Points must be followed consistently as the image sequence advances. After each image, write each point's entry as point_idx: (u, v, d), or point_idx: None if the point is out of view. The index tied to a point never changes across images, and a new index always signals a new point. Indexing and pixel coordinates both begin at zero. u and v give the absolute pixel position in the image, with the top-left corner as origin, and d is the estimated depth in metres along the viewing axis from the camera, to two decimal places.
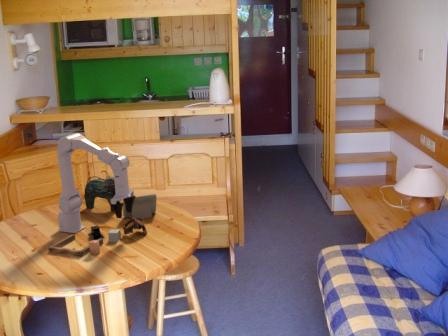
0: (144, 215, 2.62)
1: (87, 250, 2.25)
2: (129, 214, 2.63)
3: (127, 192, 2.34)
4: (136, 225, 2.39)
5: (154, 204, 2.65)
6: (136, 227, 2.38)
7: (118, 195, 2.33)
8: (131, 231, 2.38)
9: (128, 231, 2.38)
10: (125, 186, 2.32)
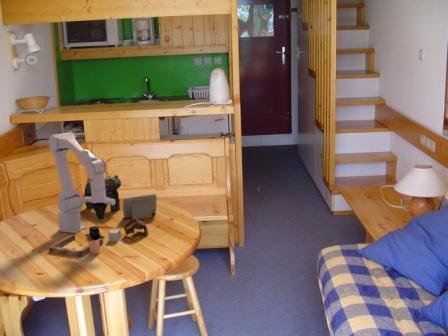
0: (144, 215, 2.62)
1: (87, 250, 2.25)
2: (129, 214, 2.64)
3: (94, 197, 2.29)
4: (137, 225, 2.38)
5: (154, 204, 2.66)
6: (137, 227, 2.38)
7: None
8: (132, 231, 2.37)
9: (129, 231, 2.38)
10: (92, 190, 2.28)
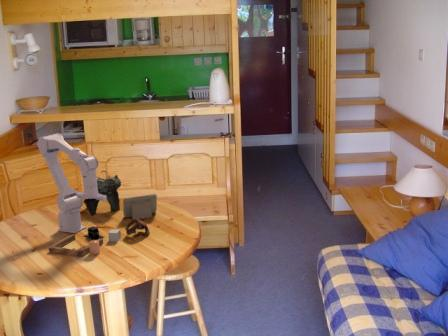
0: (144, 215, 2.62)
1: (87, 250, 2.25)
2: (129, 214, 2.64)
3: (86, 193, 2.35)
4: (139, 225, 2.38)
5: (154, 204, 2.66)
6: (139, 227, 2.38)
7: None
8: (134, 231, 2.37)
9: (131, 231, 2.38)
10: (84, 186, 2.35)
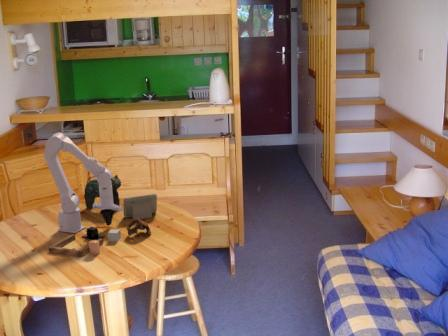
0: (145, 215, 2.62)
1: (87, 250, 2.25)
2: (129, 214, 2.64)
3: (102, 204, 2.46)
4: (140, 226, 2.38)
5: (154, 204, 2.66)
6: (140, 228, 2.37)
7: None
8: (135, 232, 2.37)
9: (132, 232, 2.37)
10: (100, 198, 2.46)
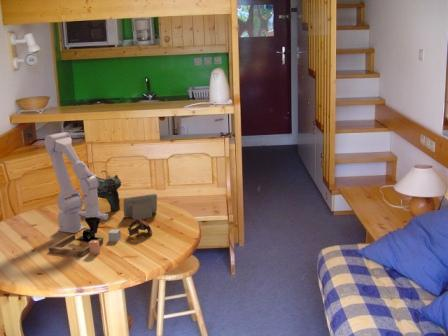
0: (145, 215, 2.62)
1: (87, 250, 2.25)
2: (130, 214, 2.64)
3: (87, 212, 2.37)
4: (142, 226, 2.38)
5: (155, 204, 2.66)
6: (142, 228, 2.37)
7: None
8: (137, 232, 2.37)
9: (134, 232, 2.37)
10: (85, 205, 2.37)
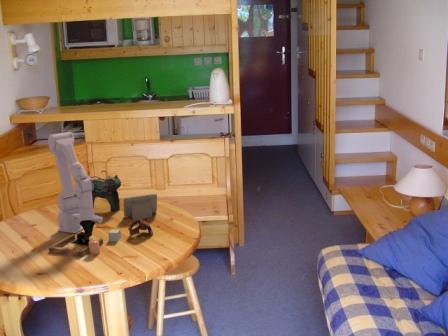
0: (145, 215, 2.62)
1: (87, 250, 2.25)
2: (130, 214, 2.64)
3: (82, 215, 2.33)
4: (142, 226, 2.38)
5: (155, 204, 2.66)
6: (142, 228, 2.37)
7: None
8: (137, 232, 2.36)
9: (134, 232, 2.37)
10: (80, 208, 2.33)
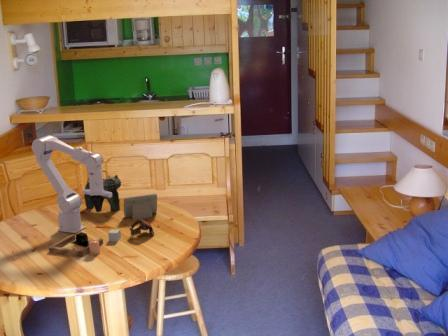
0: (145, 215, 2.62)
1: (87, 250, 2.25)
2: (130, 213, 2.64)
3: (92, 190, 2.39)
4: (144, 226, 2.37)
5: (155, 204, 2.66)
6: (144, 228, 2.37)
7: None
8: (139, 232, 2.36)
9: (136, 232, 2.37)
10: (90, 183, 2.39)
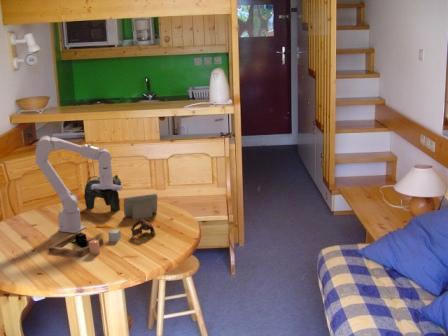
0: (145, 214, 2.63)
1: (87, 250, 2.25)
2: (130, 213, 2.64)
3: (103, 184, 2.47)
4: (145, 226, 2.37)
5: (155, 204, 2.66)
6: (145, 228, 2.37)
7: None
8: (140, 232, 2.36)
9: (137, 232, 2.36)
10: (100, 178, 2.47)
